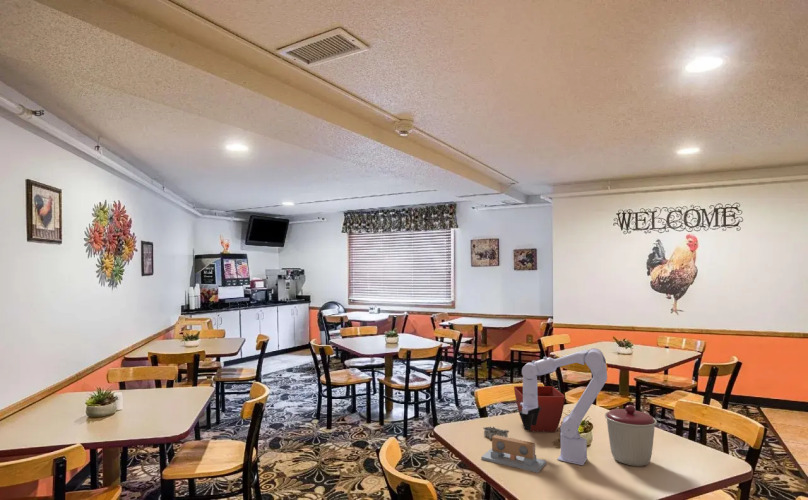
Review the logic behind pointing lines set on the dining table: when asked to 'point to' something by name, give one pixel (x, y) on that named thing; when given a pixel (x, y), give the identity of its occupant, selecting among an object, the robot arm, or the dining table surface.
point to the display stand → (514, 460)
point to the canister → (631, 435)
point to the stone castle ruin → (494, 432)
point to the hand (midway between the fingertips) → (530, 427)
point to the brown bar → (513, 446)
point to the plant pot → (545, 407)
